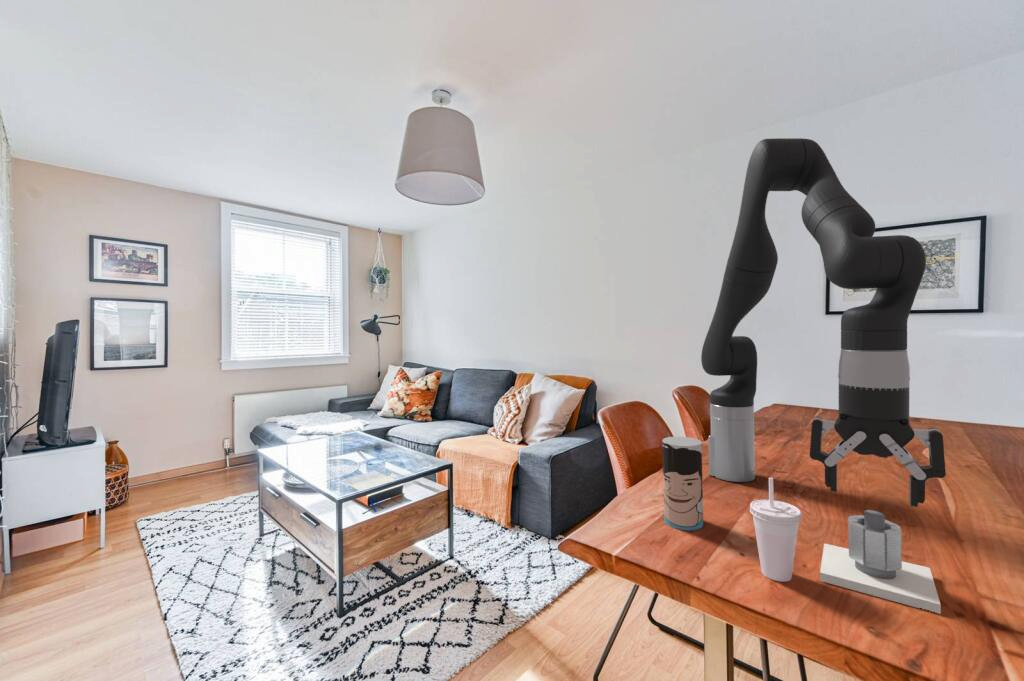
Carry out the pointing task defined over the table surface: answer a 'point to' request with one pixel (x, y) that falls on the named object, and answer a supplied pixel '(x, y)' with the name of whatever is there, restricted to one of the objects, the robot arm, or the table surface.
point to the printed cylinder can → (683, 482)
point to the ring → (875, 544)
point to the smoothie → (776, 535)
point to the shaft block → (880, 574)
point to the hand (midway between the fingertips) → (872, 497)
